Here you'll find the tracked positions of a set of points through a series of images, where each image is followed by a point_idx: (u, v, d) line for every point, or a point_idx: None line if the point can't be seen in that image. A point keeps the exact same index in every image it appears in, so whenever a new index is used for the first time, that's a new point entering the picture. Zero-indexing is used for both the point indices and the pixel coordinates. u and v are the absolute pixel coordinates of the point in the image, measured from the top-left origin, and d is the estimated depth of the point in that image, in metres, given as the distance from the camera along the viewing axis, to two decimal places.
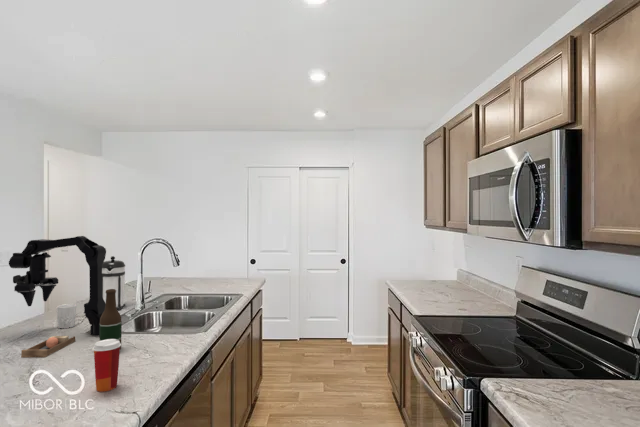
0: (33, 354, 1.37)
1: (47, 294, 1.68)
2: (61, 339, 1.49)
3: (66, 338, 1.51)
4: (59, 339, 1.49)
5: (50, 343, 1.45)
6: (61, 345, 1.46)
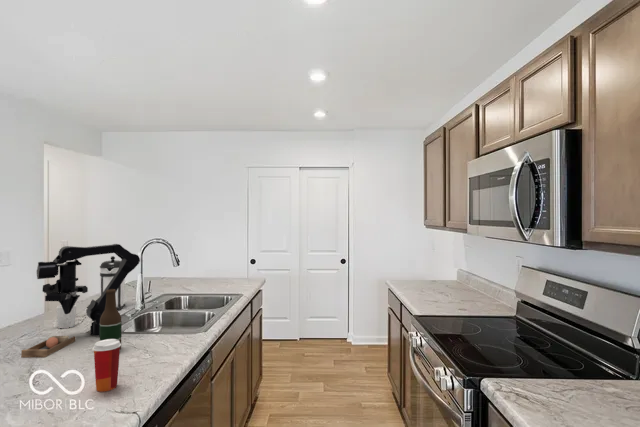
0: (33, 354, 1.37)
1: None
2: (61, 339, 1.49)
3: (66, 338, 1.51)
4: (59, 339, 1.49)
5: (50, 343, 1.45)
6: (61, 345, 1.46)
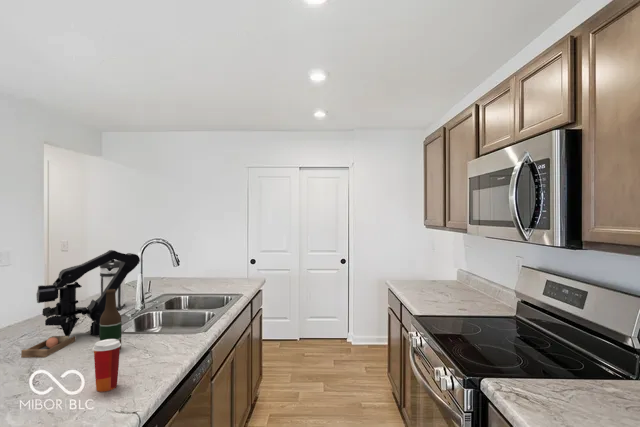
0: (33, 354, 1.37)
1: None
2: (61, 339, 1.49)
3: (66, 338, 1.51)
4: (59, 339, 1.49)
5: (50, 343, 1.45)
6: (61, 345, 1.46)
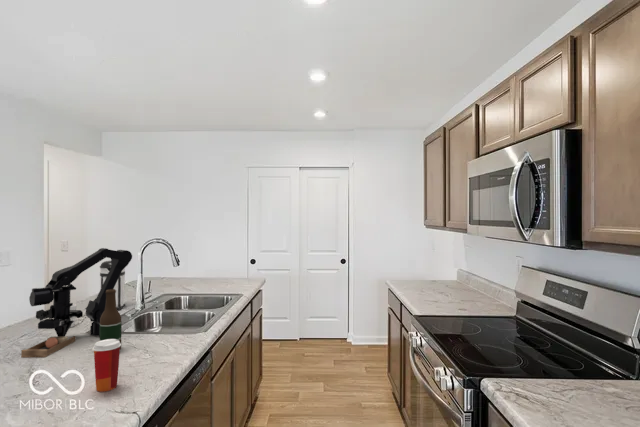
0: (33, 354, 1.37)
1: None
2: (60, 340, 1.49)
3: (65, 339, 1.50)
4: (58, 340, 1.49)
5: (49, 344, 1.45)
6: (61, 345, 1.46)
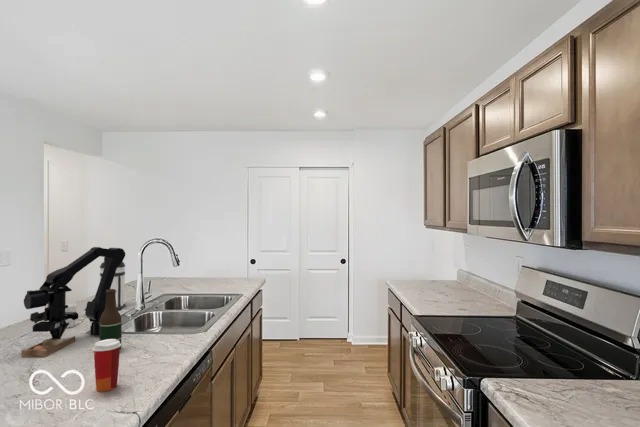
0: (33, 354, 1.37)
1: None
2: (56, 342, 1.46)
3: (61, 341, 1.47)
4: (53, 342, 1.46)
5: None
6: (61, 345, 1.46)
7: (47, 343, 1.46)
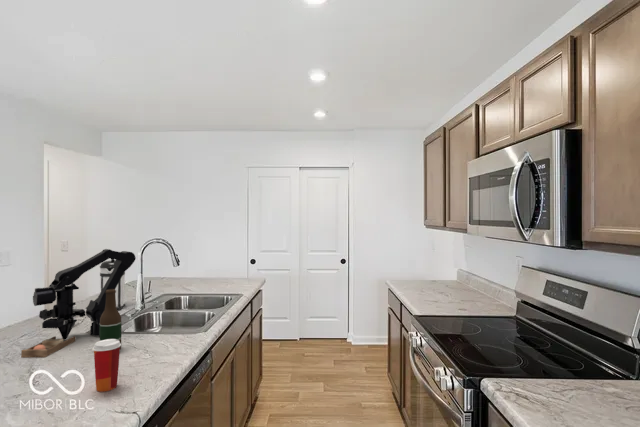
0: (33, 354, 1.37)
1: None
2: (56, 342, 1.46)
3: (61, 341, 1.47)
4: (53, 342, 1.46)
5: None
6: (61, 345, 1.46)
7: (47, 343, 1.46)
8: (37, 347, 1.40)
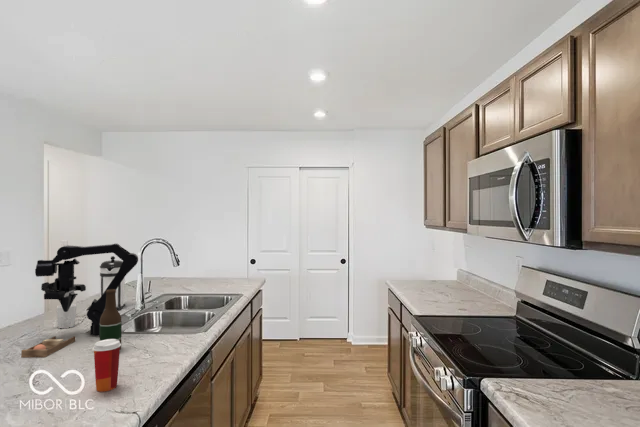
0: (33, 354, 1.37)
1: None
2: (56, 342, 1.46)
3: (61, 341, 1.47)
4: (53, 342, 1.46)
5: None
6: (61, 345, 1.46)
7: (47, 343, 1.46)
8: (37, 346, 1.41)
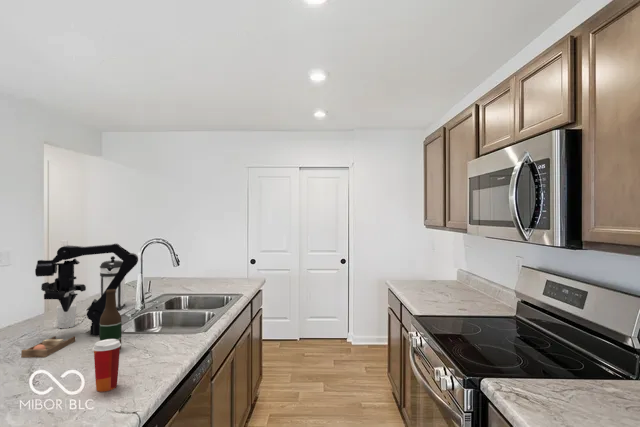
0: (33, 354, 1.37)
1: None
2: (56, 342, 1.46)
3: (61, 341, 1.47)
4: (53, 342, 1.46)
5: None
6: (61, 345, 1.46)
7: (47, 343, 1.46)
8: (37, 346, 1.40)
